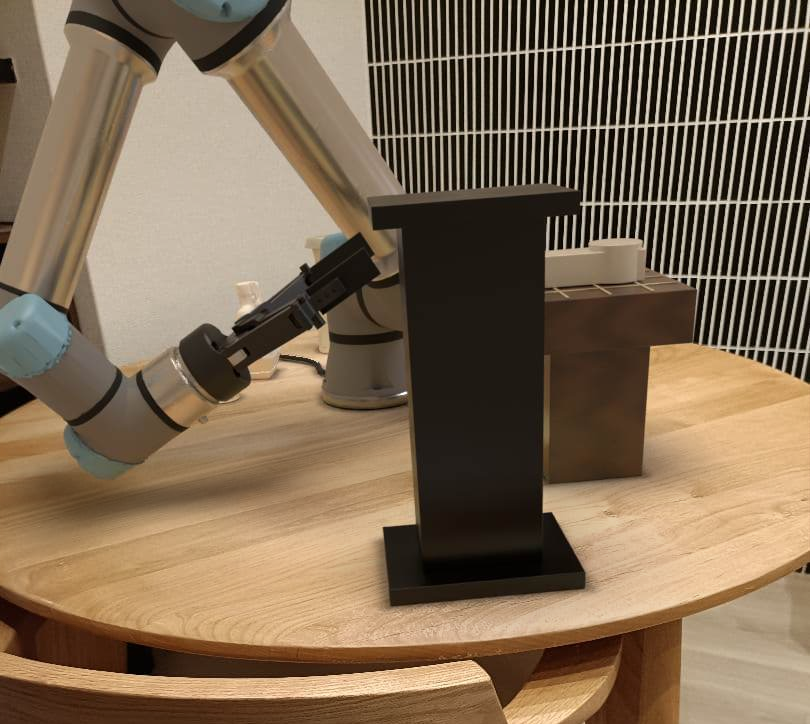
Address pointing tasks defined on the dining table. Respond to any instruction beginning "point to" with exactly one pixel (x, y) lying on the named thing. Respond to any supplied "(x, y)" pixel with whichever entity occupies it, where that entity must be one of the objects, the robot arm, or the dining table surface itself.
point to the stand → (475, 393)
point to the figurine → (249, 302)
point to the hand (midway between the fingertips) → (370, 250)
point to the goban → (605, 371)
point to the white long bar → (596, 263)
